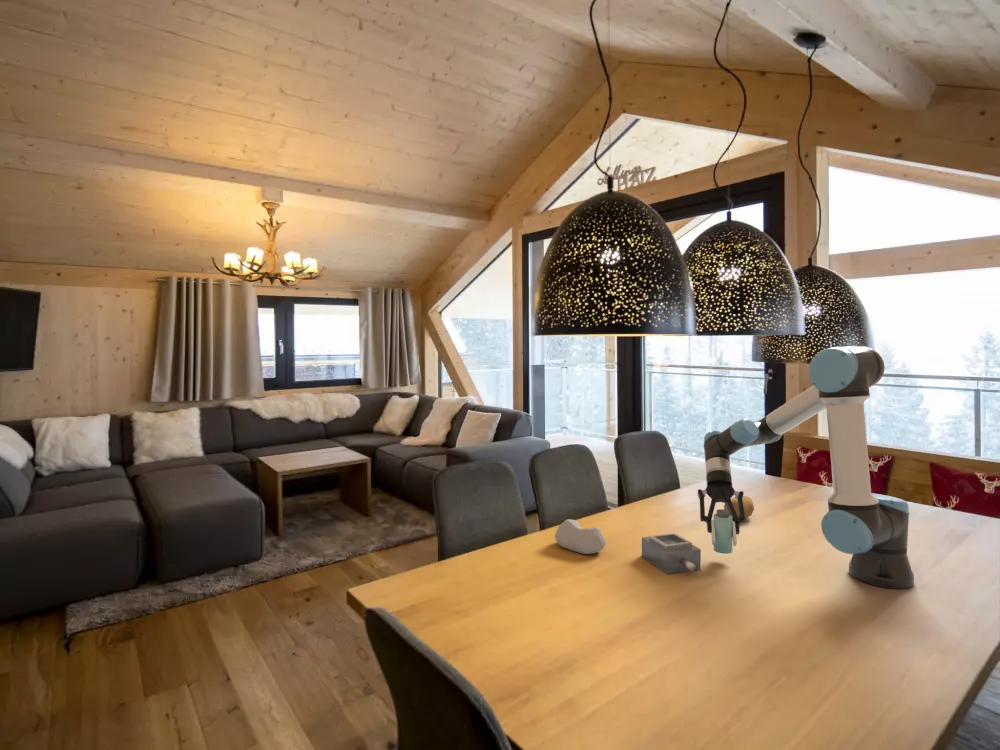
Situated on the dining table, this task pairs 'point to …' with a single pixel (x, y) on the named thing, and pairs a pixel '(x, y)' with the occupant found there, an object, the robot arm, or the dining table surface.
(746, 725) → the dining table surface
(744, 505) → the potato
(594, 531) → the decorative stone
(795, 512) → the dining table surface
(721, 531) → the teal bottle
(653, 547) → the square hollow holder
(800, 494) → the dining table surface
